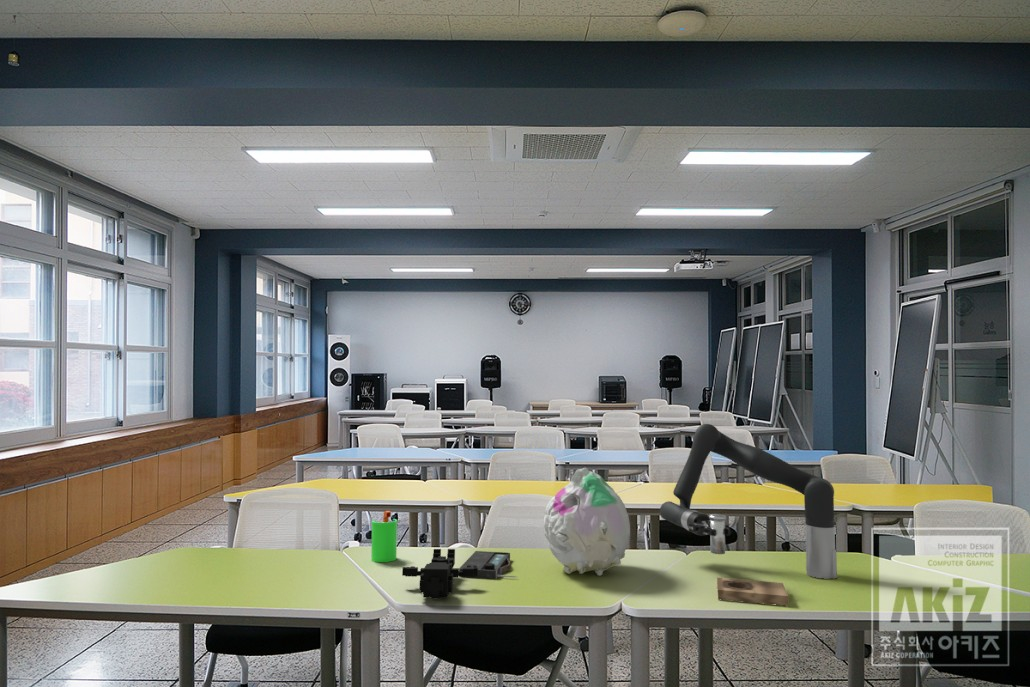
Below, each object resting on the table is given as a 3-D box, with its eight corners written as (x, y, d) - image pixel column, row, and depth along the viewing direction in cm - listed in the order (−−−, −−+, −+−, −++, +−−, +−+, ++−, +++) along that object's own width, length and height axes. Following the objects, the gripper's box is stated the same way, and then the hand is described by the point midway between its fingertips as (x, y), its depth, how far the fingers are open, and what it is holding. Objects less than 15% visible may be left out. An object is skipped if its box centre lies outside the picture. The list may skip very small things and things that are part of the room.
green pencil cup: (389, 555, 251) (390, 507, 253) (401, 559, 245) (402, 510, 247) (368, 559, 245) (369, 510, 246) (379, 563, 239) (380, 513, 240)
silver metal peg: (726, 551, 220) (725, 514, 221) (726, 555, 215) (726, 517, 216) (709, 549, 222) (708, 513, 222) (709, 553, 216) (708, 516, 217)
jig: (783, 592, 210) (782, 582, 211) (788, 606, 197) (788, 596, 197) (717, 586, 216) (717, 577, 216) (718, 599, 202) (718, 589, 203)
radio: (475, 547, 249) (528, 550, 246) (475, 559, 249) (528, 562, 245) (458, 565, 224) (516, 568, 221) (458, 578, 224) (516, 581, 221)
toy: (479, 549, 226) (475, 566, 196) (479, 578, 225) (475, 599, 195) (409, 548, 226) (394, 565, 196) (408, 577, 224) (393, 599, 195)
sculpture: (546, 595, 220) (632, 577, 211) (517, 486, 226) (600, 465, 217) (572, 570, 251) (648, 554, 242) (546, 475, 257) (620, 456, 248)
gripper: (677, 512, 231) (702, 522, 214) (714, 510, 234) (741, 520, 218) (677, 534, 231) (702, 545, 214) (714, 532, 234) (741, 543, 217)
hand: (722, 532), depth 216 cm, fingers closed on silver metal peg, 4 cm apart
